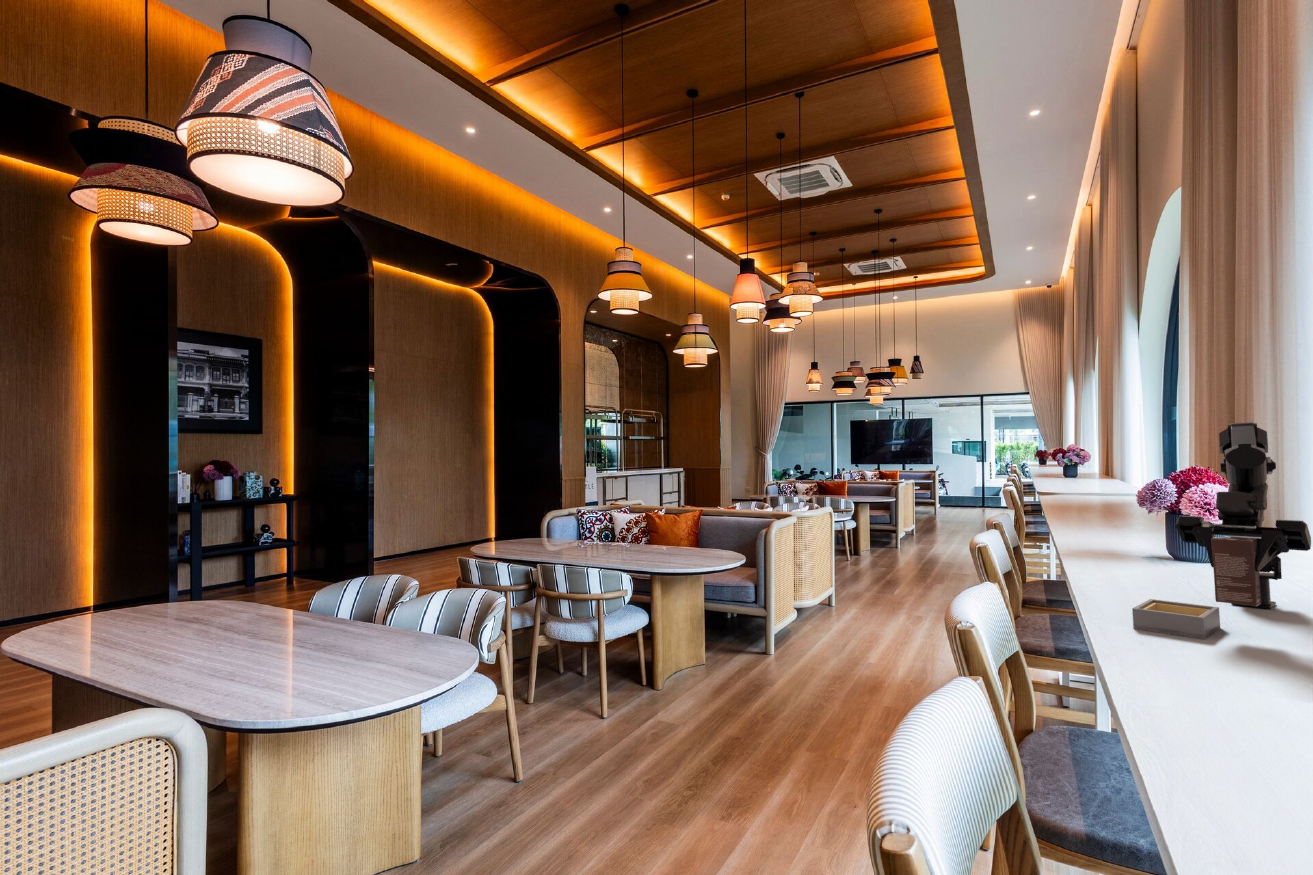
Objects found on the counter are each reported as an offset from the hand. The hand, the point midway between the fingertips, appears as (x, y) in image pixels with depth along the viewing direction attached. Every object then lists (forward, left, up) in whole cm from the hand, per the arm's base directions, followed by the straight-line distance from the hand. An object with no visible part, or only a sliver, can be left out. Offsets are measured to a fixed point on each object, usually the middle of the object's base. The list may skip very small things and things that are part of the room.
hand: (1233, 567), depth 122 cm
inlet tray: (-2, -10, -13) cm, 17 cm away
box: (-1, 0, -7) cm, 7 cm away
